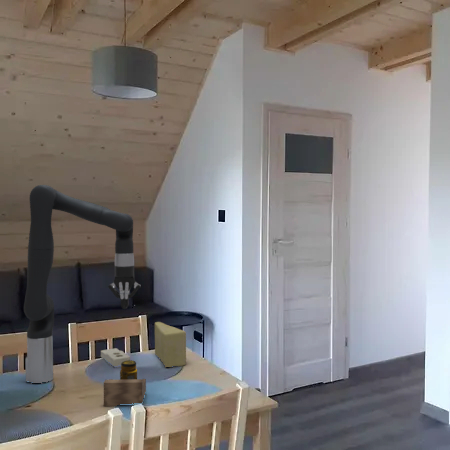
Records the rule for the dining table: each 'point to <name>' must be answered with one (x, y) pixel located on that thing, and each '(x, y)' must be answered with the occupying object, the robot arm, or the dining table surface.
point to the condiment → (128, 370)
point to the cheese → (170, 345)
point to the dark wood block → (124, 391)
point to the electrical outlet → (114, 356)
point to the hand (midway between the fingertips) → (124, 308)
